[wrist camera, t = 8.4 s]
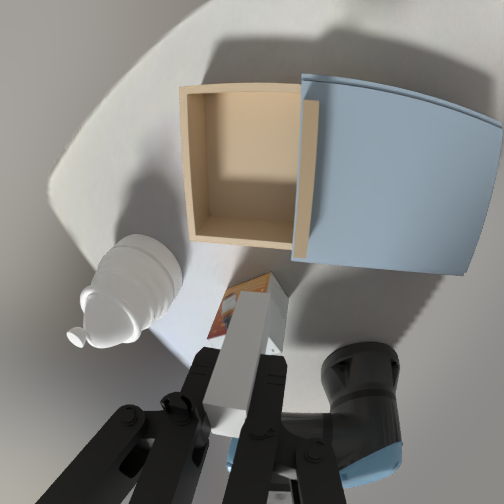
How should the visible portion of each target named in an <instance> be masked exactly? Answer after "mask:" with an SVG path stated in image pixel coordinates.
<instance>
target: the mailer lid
mask: <svg viewBox="0 0 504 504" xmlns="http://www.w3.org/2000/svg"><path fill="white" fill-rule="evenodd" d="M501 128H502V123H501V122H499V121H497V120H495V119H492V118H490V117H488V116H485V115H483V114H480V113H478V112H475V111H473V110H470V109H468V108H465V107H462V106H459V105H457V104H454V103H451V102H448V101H445V100H442V99H439V98H435V97H432V96H429V95H425V94H421V93H418V92H414V91H410V90H406V89H402V88H398V87H393V86H389V85H384V84H379V83H374V82H368V81H362V80H356V79H350V78H342V77H335V76H326V75H316V74H303V73H301V111H300V136H299V156H298V174H297V190H296V204H295V218H294V230H293V242H292V254H291V261H297V262H308V263H319V264H330V265H341V266H352V267H363V268H375V269H386V270H398V271H409V272H421V273H433V274H444V275H456V276H463V275H464V273H466V272H467V269H468V267H469V264H470V262H471V259H472V256H473V254H474V251H475V248H476V246H477V243H478V240H479V237H480V234H481V231H482V228H483V225H484V221H485V218H486V215H487V211H488V207H489V204H490V200H491V196H492V192H493V188H494V183H495V179H496V174H497V169H498V163H499V158H500V152H501V145H502V137H503V129H501Z"/></svg>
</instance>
